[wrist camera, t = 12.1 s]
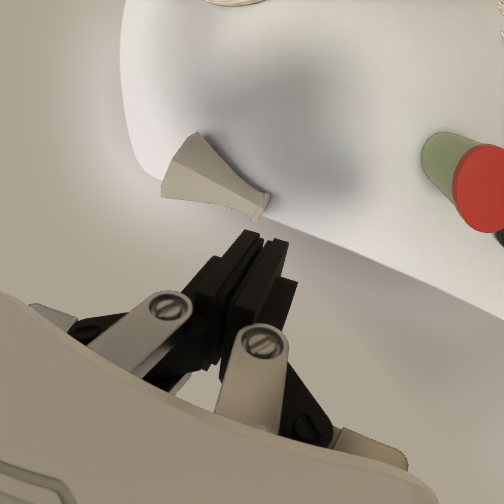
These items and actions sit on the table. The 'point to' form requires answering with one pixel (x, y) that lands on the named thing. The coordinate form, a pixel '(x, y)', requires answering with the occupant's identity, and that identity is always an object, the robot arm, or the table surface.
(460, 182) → the storage tub
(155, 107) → the table surface
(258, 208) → the flask
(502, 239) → the milk frother
